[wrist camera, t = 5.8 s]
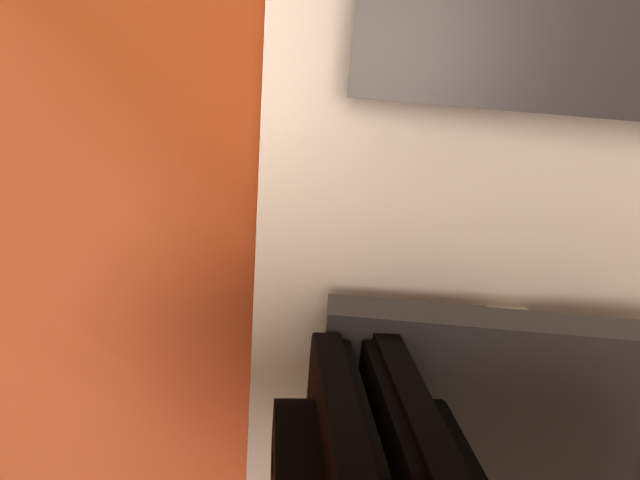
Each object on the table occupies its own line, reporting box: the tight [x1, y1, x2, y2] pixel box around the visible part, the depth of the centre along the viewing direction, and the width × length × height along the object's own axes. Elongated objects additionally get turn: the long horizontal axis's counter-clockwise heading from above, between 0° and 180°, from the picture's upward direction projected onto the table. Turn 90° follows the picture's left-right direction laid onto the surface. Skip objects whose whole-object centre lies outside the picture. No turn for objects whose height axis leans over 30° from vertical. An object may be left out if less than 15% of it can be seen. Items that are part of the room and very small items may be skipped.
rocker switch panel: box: [246, 0, 640, 480], centre depth 13 cm, size 12×30×4 cm, turn 175°
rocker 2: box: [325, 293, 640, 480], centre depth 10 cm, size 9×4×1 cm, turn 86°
